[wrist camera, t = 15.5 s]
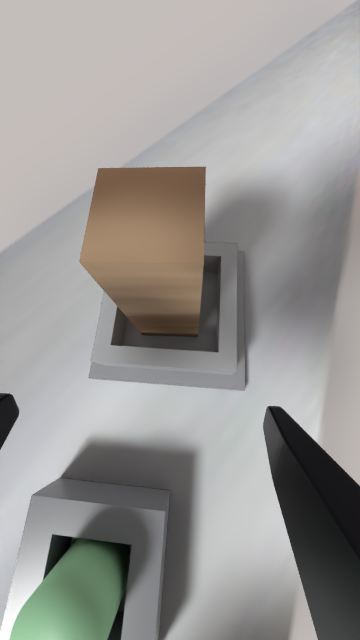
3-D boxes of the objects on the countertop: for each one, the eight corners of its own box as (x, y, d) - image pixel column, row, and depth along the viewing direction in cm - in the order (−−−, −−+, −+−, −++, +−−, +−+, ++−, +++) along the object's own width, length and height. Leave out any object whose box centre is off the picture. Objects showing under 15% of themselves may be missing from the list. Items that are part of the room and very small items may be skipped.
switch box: (158, 650, 14) (148, 718, 11) (29, 628, 14) (-13, 688, 11) (170, 490, 16) (165, 511, 13) (59, 477, 17) (31, 495, 14)
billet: (197, 337, 19) (204, 263, 8) (142, 335, 19) (79, 261, 8) (199, 286, 20) (205, 166, 9) (147, 285, 20) (98, 168, 10)
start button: (124, 615, 13) (91, 723, 9) (58, 605, 14) (-6, 704, 9) (134, 530, 15) (109, 589, 10) (73, 522, 15) (22, 576, 10)
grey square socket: (243, 390, 18) (253, 389, 15) (91, 378, 19) (72, 375, 16) (242, 254, 21) (250, 232, 18) (115, 250, 22) (103, 228, 19)
